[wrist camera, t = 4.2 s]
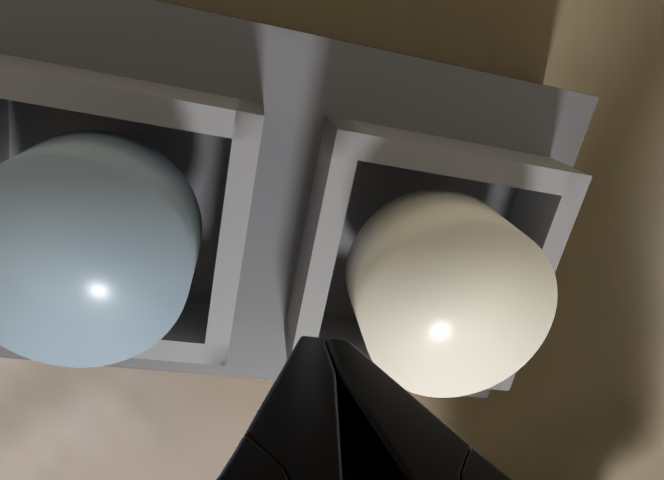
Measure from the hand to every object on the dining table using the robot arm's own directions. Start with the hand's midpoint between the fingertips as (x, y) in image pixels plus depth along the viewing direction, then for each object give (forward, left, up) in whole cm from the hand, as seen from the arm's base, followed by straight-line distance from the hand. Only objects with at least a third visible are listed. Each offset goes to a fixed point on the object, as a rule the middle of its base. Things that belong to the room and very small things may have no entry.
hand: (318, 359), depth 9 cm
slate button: (+5, 0, -4) cm, 6 cm away
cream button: (-3, 0, -4) cm, 5 cm away
